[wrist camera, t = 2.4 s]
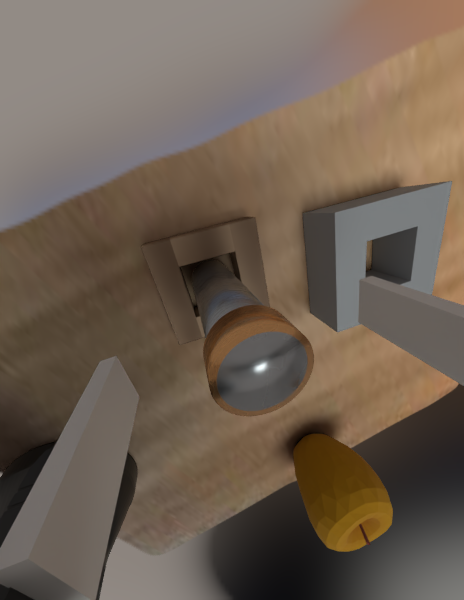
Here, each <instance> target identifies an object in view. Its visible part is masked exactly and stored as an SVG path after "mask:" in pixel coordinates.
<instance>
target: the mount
mask: <svg viewBox="0 0 464 600" xmlns="http://www.w3.org/2000/svg"><path fill="white" fill-rule="evenodd" d="M141 249H142V251H143V254H144V256H145V259H146V261H147V264H148V266H149V269H150V272H151V274H152V277H153V279H154V282H155V284H156V287H157V289H158V292H159V294H160V297H161V299H162V302H163V304H164V307H165V310H166V312H167V315H168V317H169V320H170V322H171V325H172V327H173V330H174V332H175V335H176V337H177V340H178V343H179V345H182V344H185V343H188V342H191V341H194V340H197V339H200V338H203V337H205V334H204V330H203V326H202V322H201V318H200V314H199V310H198V307H195V308H194V306H193V303H192V300H191V297H190V294H189V291H188V288H187V285H186V282H185V279H184V276H183V273H182V270H181V267H180V266H184V265H188V264H191V263H195V262H198V261H202V260H206V259H209V258H213V257H216V256H220V255H224V254H227V253H230V255H231V259H232V264H233V268H234V272H235V276H236V277H237V278H238V279H239V280H240V281H241V282H242V283H243V284H244V285H245V286H246V287H247V288H248V289H249V290H250V291H251V292H252V293H253V295H254V296H255V297H256V298H257V299H258V300H259V301H260V302H261V303H262V304H263V305H264V306H267V307H270V304H269V298H268V292H267V286H266V280H265V274H264V268H263V262H262V256H261V250H260V244H259V238H258V232H257V226H256V220H255V217H245V218H242V219H238V220H234V221H230V222H226V223H222V224H218V225H214V226H210V227H207V228H203V229H199V230H195V231H191V232H187V233H183V234H179V235H175V236H172V237H168V238H164V239H160V240H156V241H152V242H148V243H145V244H144V245H142V246H141Z"/></svg>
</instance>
